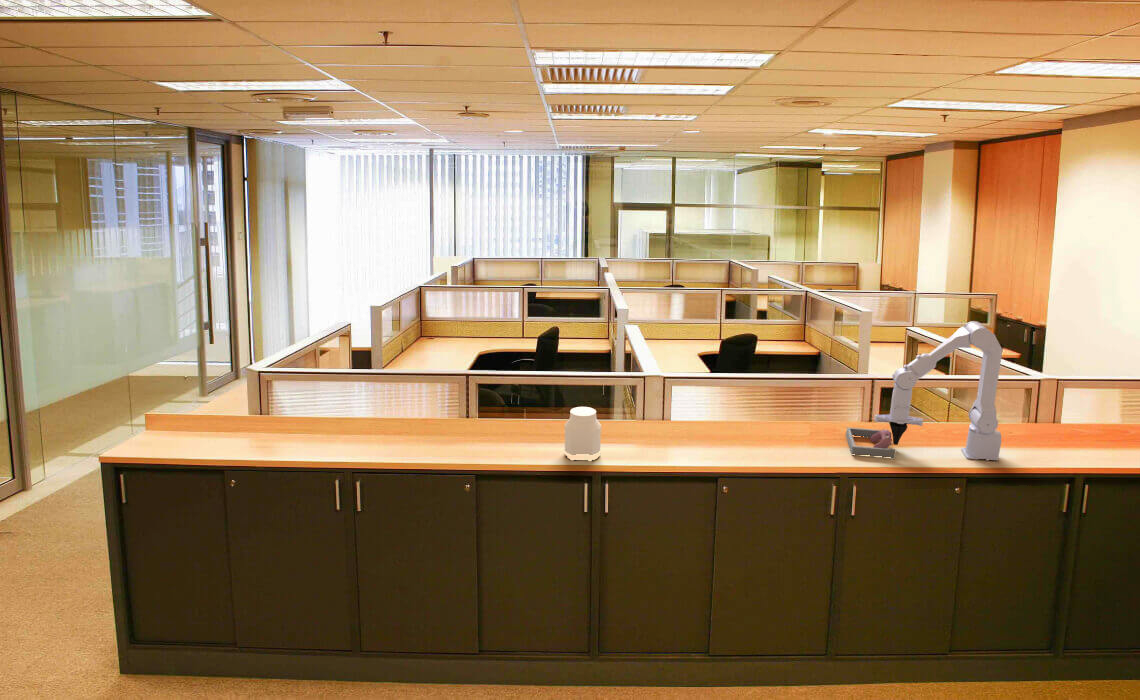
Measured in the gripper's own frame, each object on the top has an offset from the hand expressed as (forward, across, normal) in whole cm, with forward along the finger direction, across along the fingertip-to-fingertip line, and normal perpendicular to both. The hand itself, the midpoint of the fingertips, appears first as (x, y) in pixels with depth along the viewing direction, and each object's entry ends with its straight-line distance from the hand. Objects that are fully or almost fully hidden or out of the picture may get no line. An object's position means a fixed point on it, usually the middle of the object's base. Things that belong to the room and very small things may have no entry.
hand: (895, 443), depth 268 cm
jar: (+2, -99, -28) cm, 103 cm away
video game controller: (+2, -4, 0) cm, 5 cm away
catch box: (+2, -8, 0) cm, 8 cm away
